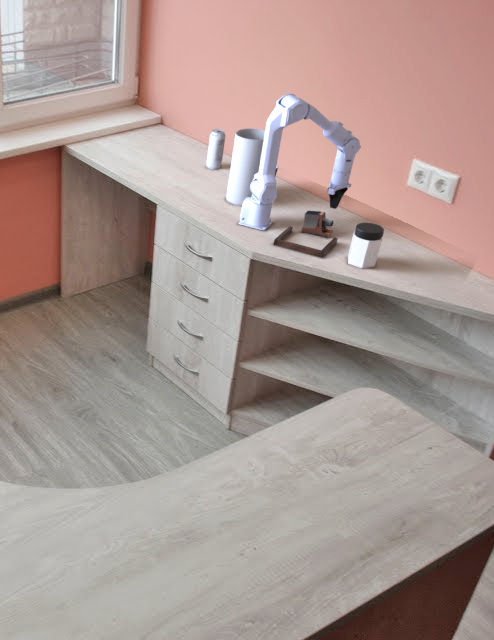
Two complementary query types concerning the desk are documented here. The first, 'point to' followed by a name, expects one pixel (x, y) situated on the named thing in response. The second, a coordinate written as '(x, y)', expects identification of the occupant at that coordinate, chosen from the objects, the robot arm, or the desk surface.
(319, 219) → the electronic device
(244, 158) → the cylinder vase
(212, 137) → the energy drink can
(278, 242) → the frame
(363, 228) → the jar
